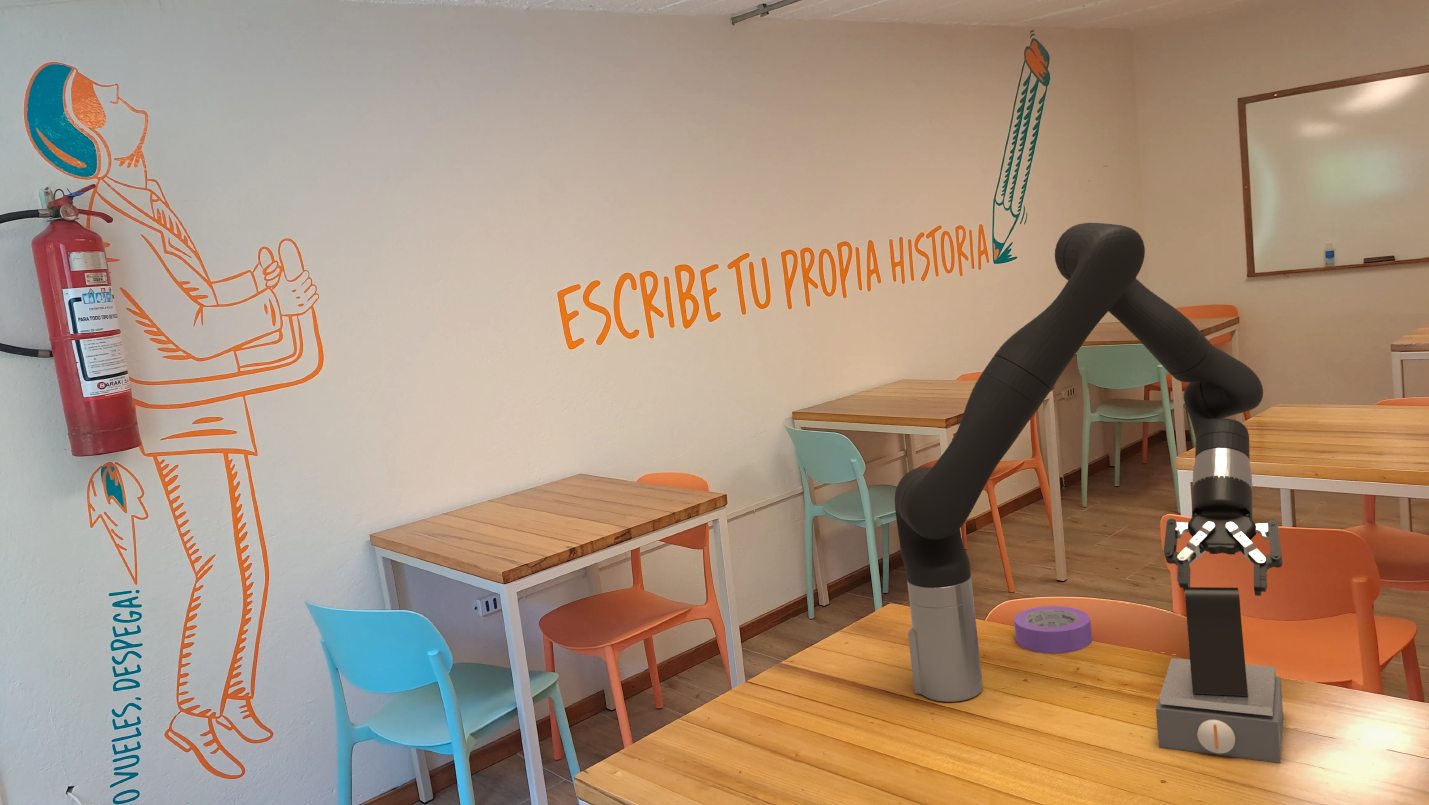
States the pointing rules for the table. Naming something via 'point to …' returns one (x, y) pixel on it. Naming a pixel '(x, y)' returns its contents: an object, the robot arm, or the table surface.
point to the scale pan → (1256, 702)
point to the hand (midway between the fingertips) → (1221, 591)
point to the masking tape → (1053, 629)
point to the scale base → (1223, 730)
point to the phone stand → (1215, 641)
